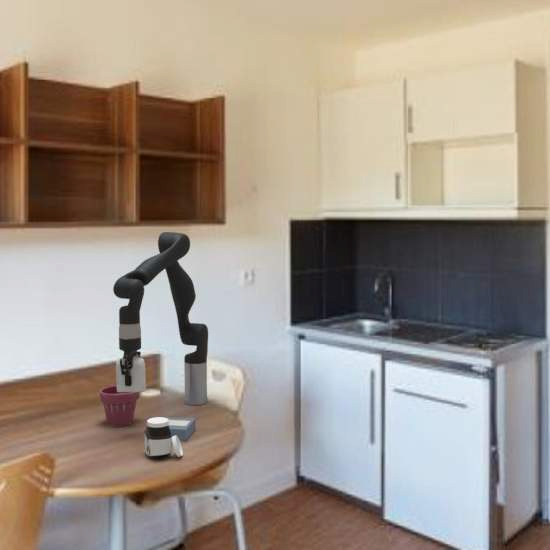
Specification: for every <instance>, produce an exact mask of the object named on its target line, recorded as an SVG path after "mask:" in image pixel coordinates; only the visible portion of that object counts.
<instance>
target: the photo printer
mask: <svg viewBox="0 0 550 550" xmlns="http://www.w3.org/2000/svg"><path fill="white" fill-rule="evenodd" d="M120 359H123V356H122V357H120V358H117V359H116V361H115V362H116V363H115V375H116V376H115V378H116V381H115V382H116V385H117V392H139V393H144V392H147V391H146V390H147V383H146V382H147V381H146V380H147V378H146V363H145V359H144V358H142V357H140V358H139V357H135V360H134V362H133V369H132V374H131V375H132V385H131V386H125V375H122V374H121V367H120ZM129 366H131V365H129Z"/></svg>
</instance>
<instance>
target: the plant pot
mask: <svg viewBox="0 0 550 550" xmlns="http://www.w3.org/2000/svg"><path fill="white" fill-rule="evenodd" d="M139 399H140V392H117V384H115V385H110V386H106V387H103V388H101V389H100V390H99V401H100V402H102V405H103V409H104V413H105V418H106V421H107V425H109V426H111V427H123V426H129V425H131V424H132V423H133V422H134V416H135V410H136V406H137V401H138V400H139Z"/></svg>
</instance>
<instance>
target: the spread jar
mask: <svg viewBox="0 0 550 550" xmlns="http://www.w3.org/2000/svg"><path fill="white" fill-rule="evenodd" d="M163 417H164V416H157V417H156V416H155V417H150V418H149V419H147V421H146V425H147V426H146V427H145V430H144V451H145V455H146V457H147V458H149V459H150V460H163V459H166V458H168V457H170V456H171V455H172V451H173V450H174V452H175V454H176V455H175V456H177V458H181V457H183V456H184V452H183V446H182V443H181V441H180V440H179V438H178V436H177V435H175V436H172V434H171V430H170V427H169V425H168V424H169V419H167V418H163Z"/></svg>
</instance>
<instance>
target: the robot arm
mask: <svg viewBox="0 0 550 550" xmlns="http://www.w3.org/2000/svg"><path fill="white" fill-rule="evenodd" d="M190 248H191V240H190V237H189V236H188V235H187V234H186V233H182V232H172V231H165V232H161V233H160V234H159V236H158V240H157V249H158V252H159V253H158V254H156V255H153V256H151V257H149V258H147V259H145V260H143V261H142V262H141V263H140V264H139V265H138V266H136V268H135V269H133V270H131V271H130V272H127V273H126V274H123V276H120V277H119V278H118V279H117V280H116V281H115V283H114V285H113V288H112V291H113V294H114V296H116V297H117V298H119V299H122V300H123V299H124V300H128V303H127V305H126V304H125V305H123V306H121V307H120V308H119V309H118V322H119V323H118V324H119V325H118V349H119V350H120V351H122V352H123V356H122V357H123V359H120V367H121V374H122V375H125V386H131V385H132V375H131V374H132V369H133V362H134V360H135V357H139V358H141V354H142V352H141V351H140V350H141V348H142V329H141V328H142V327H141V308H142V302H143V300H144V294H145V286H147V285H149V284H150V283H151V282H152V281H153V280H154V279H155V278H156V277H157V276H158V275H160V274H161V273H162V272H163V271H164V270H165V271H166V276H167V279H168V283H169V289H170V293H171V297H172V302H173V304H174V309H175V313H176V319H177V325H178V326H177V327H178V333H179V339H180V341H181V343H182V344H183V345H185V346H192V347H193V346H195V347H196V349H195V350H194V351H193V352H190V353H187V354H185V355H184V358H183V360H184V362H183V363H184V367H183V368H184V404H185V405H188V406H201V405H205V404H207V403H208V362H207V361H208V351H209V349H208V348H209V328H208V326H207V324H205V323H194V322H190V318H189V314H190V311H191V309H192V307H193V305H194V303H195V301H196V290H195V289H196V288H195V286H194V281H193V280H192V278H191V276H190V275H189V274H188V273H187V271H186V270H185V269H184V268H183V267H182V266H181V264H180V263H179V260H181V259H182V258H184V257H185V256H186V255H187V254H188V253H189V251H190ZM129 365H131V366H129Z"/></svg>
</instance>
